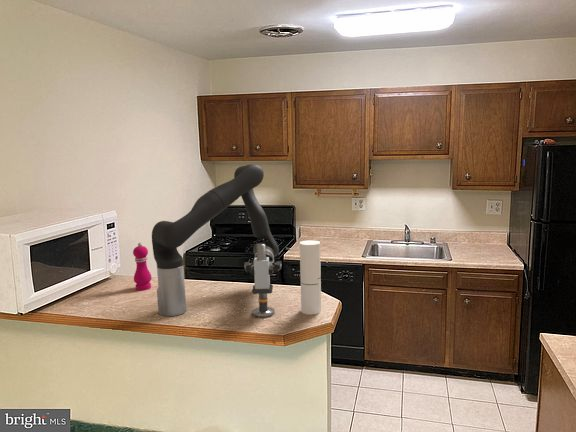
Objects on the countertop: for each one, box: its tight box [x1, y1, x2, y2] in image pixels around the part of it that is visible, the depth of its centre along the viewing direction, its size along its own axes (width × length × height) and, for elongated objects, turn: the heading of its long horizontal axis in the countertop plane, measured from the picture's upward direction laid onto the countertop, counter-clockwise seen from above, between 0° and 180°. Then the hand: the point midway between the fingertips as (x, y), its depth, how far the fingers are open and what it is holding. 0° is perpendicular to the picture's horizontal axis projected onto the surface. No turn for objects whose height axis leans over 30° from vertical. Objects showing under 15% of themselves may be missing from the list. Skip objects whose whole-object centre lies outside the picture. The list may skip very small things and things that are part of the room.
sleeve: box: [253, 257, 271, 289], centre depth 157 cm, size 5×5×10 cm
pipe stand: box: [251, 243, 276, 319], centre depth 158 cm, size 8×8×25 cm
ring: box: [251, 283, 274, 295], centre depth 158 cm, size 7×7×2 cm
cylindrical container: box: [299, 239, 322, 316], centre depth 159 cm, size 7×7×25 cm
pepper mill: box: [132, 242, 152, 291], centre depth 191 cm, size 7×7×20 cm
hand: (261, 272), depth 155 cm, fingers closed on sleeve, 5 cm apart
